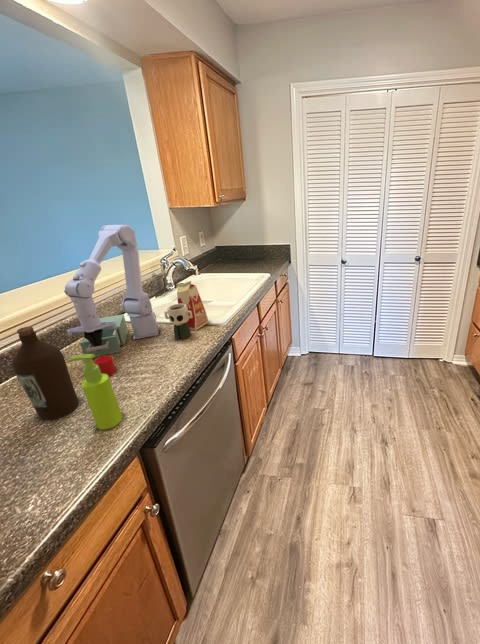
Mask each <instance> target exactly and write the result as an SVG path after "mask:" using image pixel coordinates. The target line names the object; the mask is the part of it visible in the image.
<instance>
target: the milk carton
mask: <svg viewBox="0 0 480 644" xmlns="http://www.w3.org/2000/svg"><path fill="white" fill-rule="evenodd" d="M175 285H176V286H177V289H176V296H177V304H185V305H186V306H187V311H192V316H193V318H189V320H188V321H187V324H188V326H189V329H190V331H197V330H199V329H200V328H202V327H204V326H205V325H207V324H208V323H210V321H209V317H208V315H207V312H206V308H205V306H204V303H203V300H202V298H201V295H200V293H199V290H198V288H197V285H196V284H193V283H192V280H190V281H187V282H184V283H176V284H175ZM188 316H190V313H188Z"/></svg>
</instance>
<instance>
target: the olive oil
mask: <svg viewBox="0 0 480 644" xmlns="http://www.w3.org/2000/svg"><path fill="white" fill-rule="evenodd" d="M16 333H17V334H18V338H19V340H20V343H21V346H20V347H19V349H18V351H17V352H16V353H15V354H14V357H13V359H12V370H13V372H14V374H15V376H16V378H17V380H18V381H19V383H20V385H21V386H22V388H23V390H24V392H25V394H26V395H27V398H28V399H29V401H30V403H31V404H32V407H33V408H34V410H35V412H36V414H37V416H38V417H39V419H41V420H46V421H49V420H55V419H59V418H61V417H63V416H66V415H67V414H70V413H71V412H72V411H74V410H75V409H76V408H77V407H78V405H79V398H78V396H77V393H76V390H75V387H74V384H73V381H72V378H71V374H70V372H69V369H68V365H67V362H66V359H65V355H64V353H63V352H62V351H61V350H60V349H59V348H58V347H57V346H56V345H53V344H51V343H49V342H45V341H43V340H41V339H39V338H38V335H37V332H36V331H35V330H34V327H33V326H23V327H21V328H18V329H17V330H16Z"/></svg>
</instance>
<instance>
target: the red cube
mask: <svg viewBox="0 0 480 644" xmlns="http://www.w3.org/2000/svg"><path fill="white" fill-rule="evenodd" d="M93 364H97V365H98V366H99V368H100V371H101V374H107V375H108V376H109V377H110V376H112V375H113V374H115V373H116V371H117V368H116V365H115V361H114V358H113V356H112V355H109V354H107V355H101V356H100V357H97V358H96V359H95V360H94V361H93Z"/></svg>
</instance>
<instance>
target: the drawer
mask: <svg viewBox="0 0 480 644" xmlns="http://www.w3.org/2000/svg"><path fill="white" fill-rule="evenodd" d="M120 342H121V338H120V334H119V331H118V329H113V330H108V331H103V333H102V346H96V347H94V346H93V345H92V344H91V343H90V342H89V341H88V340H87V339H86V338H85V339H84V338H83V341H80V342H79V344H80V347H81V350H82V352H83V353H82V354H95V357H97V356H104V355H109V354H112V353H117V352H121V347H120V346H121V345H120ZM97 350H100V351H97Z"/></svg>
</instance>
